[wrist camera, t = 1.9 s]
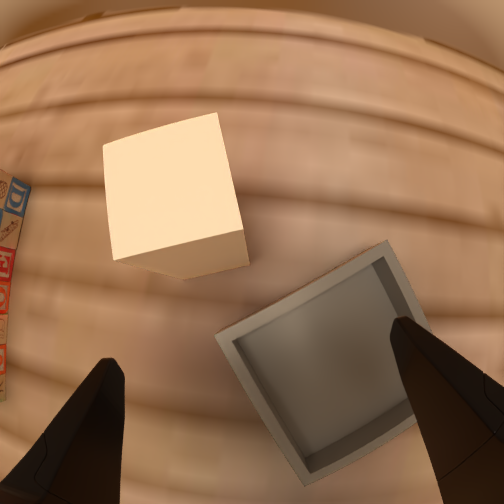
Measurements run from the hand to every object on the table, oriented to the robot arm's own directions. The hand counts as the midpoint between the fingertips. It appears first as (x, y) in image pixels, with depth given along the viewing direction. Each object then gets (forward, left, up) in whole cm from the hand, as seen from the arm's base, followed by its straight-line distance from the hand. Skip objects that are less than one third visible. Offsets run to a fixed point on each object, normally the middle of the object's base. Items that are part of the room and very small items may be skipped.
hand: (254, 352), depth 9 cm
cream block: (0, +7, -13) cm, 15 cm away
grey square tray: (+4, -6, -13) cm, 15 cm away
